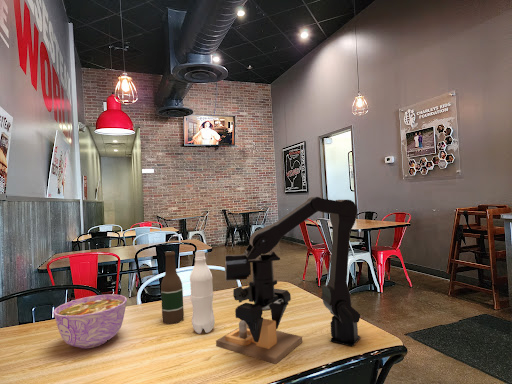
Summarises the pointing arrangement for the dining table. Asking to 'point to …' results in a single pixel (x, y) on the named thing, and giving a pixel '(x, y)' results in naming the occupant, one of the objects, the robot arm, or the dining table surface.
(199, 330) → the water bottle
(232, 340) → the square frame with handle
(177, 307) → the beer bottle
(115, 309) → the bowl of food
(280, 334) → the board
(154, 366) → the dining table surface
